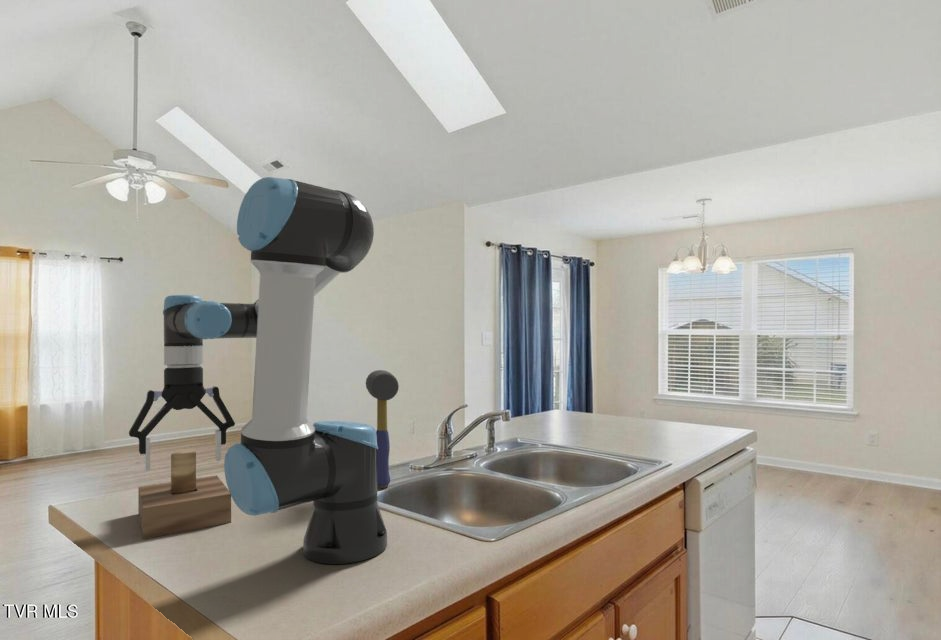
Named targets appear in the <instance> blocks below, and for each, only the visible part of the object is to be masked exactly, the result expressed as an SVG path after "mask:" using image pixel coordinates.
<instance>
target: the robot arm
mask: <svg viewBox="0 0 941 640" xmlns="http://www.w3.org/2000/svg"><path fill="white" fill-rule="evenodd" d="M374 230H375V228H374V223H373V219H372V215H371V214H370V212H369V210H368V209H367V207H366V206H365V205H364V203H363V202H362V201H360V199H358V198H357V197H356V196H354V195H352V194H351V193H349V192H345V191H342V190H337V189H331V188H327V187H323V186H320V185H316V184H311V183H306V182H302V181H297V180H295V179H291V178H290V179H288V178H282V177H281V178H279V177H273V176H272V177H271V176H267V177H266V176H265V177H262V178H260V179H258V180H256V181H255V182H254V183H252V185H251V186H250V187H249V188H248V190H247V192H246V193H245V195H244V197H243V199H242V200H241V203H240V206H239V210H238V214H237V220H236V233H237V235H238V241H239V244H240V245H241V246H242V247H243V248H244V249H246V250H247V251H249V252H250V262H251V264H252V265H253V266H254V268H256V270H257V271H258V273H259V287H258V298H257V299H256V300H255V302H253V303H237V302H235V303H232V302H218V301H214V300H213V301H212V300H211V301H208V300H203V299H202V297H201V296H199V295H193V294H192V295H190V294H175V295H174V294H173V295H167V296H166V297H165V298H164V301H163V311H162V315H163V365H164V366H166V367H165V368H164V370H163V389H162V391H159V390H158V391H157V390H152V389H149V390H147V393H146V400H145V402H144V404H143V405H142V408H141V409H140V411H139V413H138V414H137V416H136V418H135V420H134V422H133V424H132V426H131V427H130V429H129V431H128V435H129V437H131V438H136V439H138V453H139V454H140V455H144V460H145V461H144V463H145V465H144V466H145V467H144V469H145V471H147V472H148V471H150V470H151V438H150V436H148V435H150V433H151V432H152V431H153V430H154V429H155V428H156V427H157V426H158V424H159V423H160V422H161V421H162V420H163V418H165V417H166V415H168V413H169V412H171V410H172V409H173V410H174V411H175V410H176V411H181V410H185V409H186V410H193V409H195V408H196V407H197V408H198V409H200V411H201V412H202V413H203V414H204V415H205V416H206V417H207V418H208V419H210V421H211V422H213V424H214V425H216V427H217V428H218V429H215V430H214V431H215V433H214V436H215V442H214V445H215V448H214V449H215V453H214V454H215V457H214V459H215V460H216V461H217V462H221V461H222V446H223V445H226V443H227V430H228V429H229V428H231V427H232V428H233V427H235V424H236V423H235V420H234V419H233V417H232V415H231V414H230V412H229V410H228V408H227V407H226V405H225V403H224V401H223V400H222V397H221V396H220V389H219V387H218V386H215V385H214V386H212V387H207V388H205V387H204V371H203V370H204V368H203V367H202V366H201V365H203V363H204V355H203V354H204V350H203V349H204V347H203V346H204V344H203V343H204V342H203V341H204V340H214V339H248V338H249V339H252V338H253V339H254V338H255V339H256V341H255V357H254V360H255V361H254V375H253V392H252V394H253V395H252V409H251V410H252V412H251V413H252V414H251V420H249V421H248V422H247V423H245V424H244V426H242V427H241V430H240V443H235V444H233V445H231V446H230V447H228V449H227V450H226V453H225V456H224V463H223V469H224V477H225V482H226V486H227V489H228V490H229V492H230V494H231V500H232V501H233V502H234V504H235V506H237V508H238V509H239V510H240V511H241V512H243V513H244V514H245V515H249V516H252V517H253V516H255V517H256V516H261V515H264V514H275V513H277V512H279V511H281V510H285V509H289V508H293V507H296V506H300V505H304V504H306V503H310V502H312V504H313V506H312V507H313V508H312V511H311V515H310V517H309V521H308V524H307V528H306V530H305V534H304V537H303V542H302V543H303V546H302V551H303V555H304V557H305V558H306V559H308V560H310V561H313V562H315V563H320V564H326V565H327V564H328V565H342V564H343V565H345V564H351V563H357V562H362V561H365V560H368V559H371V558H373V557H376V556H378V555H380V554H381V553H383V552H384V551H385V550H386V548H387V546H388V531H387V527H386V524H385V521H384V519H383V516H382V513H381V510H380V507H379V503H378V487H377V450H378V446H377V436H376V431H377V429H375V428H374V426H372V425H371V424H368V423H361V422H353V421H339V420H337V421H336V420H320V421H315V422H314V423H313V424H312V423H311V421H309V419H308V418H307V417H308V416H307V415H308V404H309V403H308V399H309V387H310V386H309V384H310V368H311V356H312V355H311V354H312V352H311V351H312V337H313V335H312V334H313V320H314V319H313V318H314V308H315V307H314V306H315V305H314V304H315V303H314V302H315V296H316V295H317V294H319V293H320V292H321V291H322V290H323V289H324V288H325V287H326V286H327V285H329V283H331V282H332V281H333V280H334V279H335V278H337V276H339V275H340V273H341V274H345V273H348V272H351V271H352V270H354V268H356V267H357V266H358V265H359V264H360V263H362V261H363V260H364V259H365V258H366V257H367V255H368V253H369V251H370V250H371V248H372V245H373V241H374V234H375V233H374V232H375V231H374ZM206 394H208V397H210V398H212V399H213V402H214V403H215V404H216V406H217V408H218V410H219V411H220V414H222V417H223V418H224V420H225V422H223V421H221V420H220V418H219V417H217V415H215V414H214V413H213V412H212V411H211V410H210V408H208V407H207V405H205V404H204V403H203V402H202V399H203V398H204V396H205V395H206ZM161 397H162V399H163V400H164V401H165V402H166V403H164V404H163V405H162V407H161V408H160V410H159V411H158V412H157V413H156V414H155V415H154V416H153V417H152V418H151V419H150V421H149V422H148V423H147V424H146V425H145V426H144V427H143V429H141V431H140V430H139V429H140V428H141V427H142V425H143V423H144V421H145V420H146V417H147V415H148V413H149V411H150V409H151V408H152V406H153V403H154V402H157V401H158V400H159V398H161Z"/></svg>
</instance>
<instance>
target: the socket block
mask: <svg viewBox="0 0 941 640" xmlns="http://www.w3.org/2000/svg"><path fill="white" fill-rule="evenodd" d="M226 486H227V485H225V484H224V483H223V481H222V480H221V478H219V476H218V475H211V476H210V475H209V476H202V477H196V490H194V491H193V492H187V493H180V494H173V493H171V481H168V482H162V483H160V482H159V483H156V484H154V483H153V484H148V485H141V486H138V498H137V499H138V501H137V502H138V504H137V505H138V510H137V513H138V519H139V525H140V530H141V531H140V532H141V537H142V540H145V539H151V538H157V537H162V536H166V535H173V534H178V533H181V532H183V533H184V532H187V531H192V530H197V529H203V528H208V527H213V526H219V525H224V524H229V523H232V496H231V494H230V492H229V489H228V487H226Z"/></svg>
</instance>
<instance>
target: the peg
mask: <svg viewBox="0 0 941 640" xmlns="http://www.w3.org/2000/svg"><path fill="white" fill-rule="evenodd" d="M196 478H197V452H196V451H194V450H185V451H177V452H174V453H171V454H170V482H171V493H173V494H180V493H187V492H193V491H194V490H196Z"/></svg>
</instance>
